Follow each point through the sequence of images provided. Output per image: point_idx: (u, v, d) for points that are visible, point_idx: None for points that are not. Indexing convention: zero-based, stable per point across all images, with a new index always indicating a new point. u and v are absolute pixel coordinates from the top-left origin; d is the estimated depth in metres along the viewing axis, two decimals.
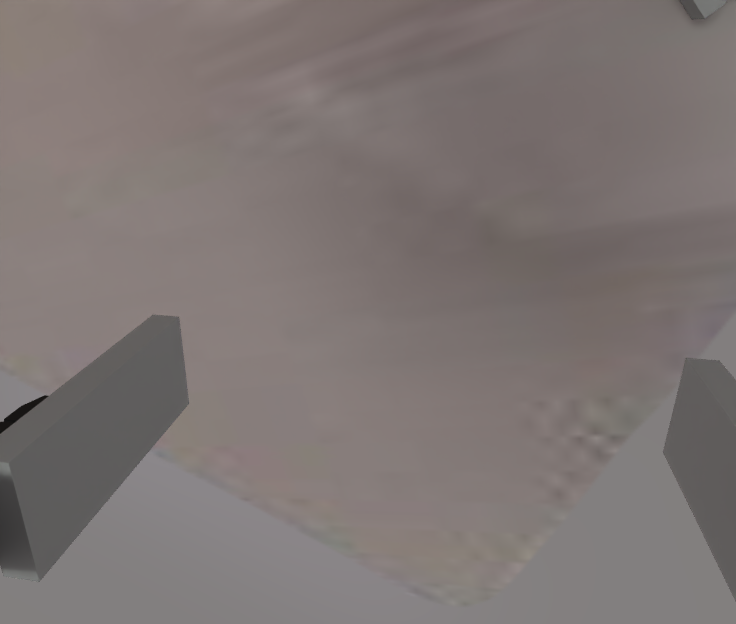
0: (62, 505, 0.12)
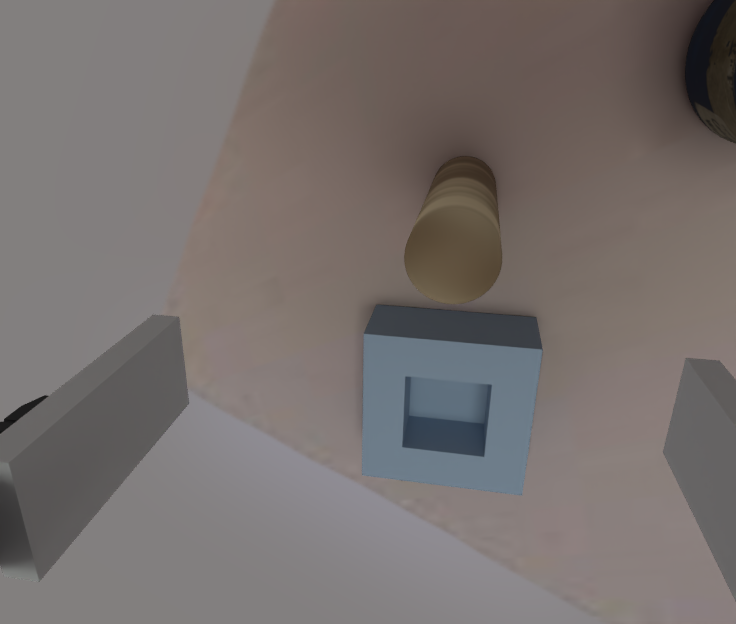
0: (62, 505, 0.12)
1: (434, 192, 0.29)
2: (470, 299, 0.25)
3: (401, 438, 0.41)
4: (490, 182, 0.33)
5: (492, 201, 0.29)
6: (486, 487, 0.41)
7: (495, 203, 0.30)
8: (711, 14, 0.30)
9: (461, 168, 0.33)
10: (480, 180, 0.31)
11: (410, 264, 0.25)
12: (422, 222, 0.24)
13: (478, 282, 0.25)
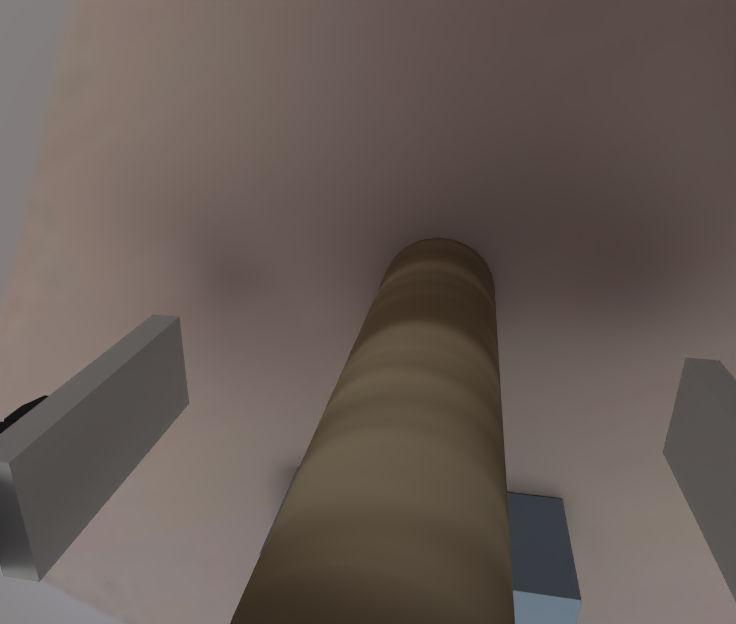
0: (62, 505, 0.12)
1: (355, 372, 0.13)
2: None
3: None
4: (484, 311, 0.17)
5: (488, 396, 0.13)
6: None
7: (494, 388, 0.13)
8: None
9: (426, 282, 0.17)
10: (462, 323, 0.15)
11: None
12: (268, 582, 0.08)
13: None
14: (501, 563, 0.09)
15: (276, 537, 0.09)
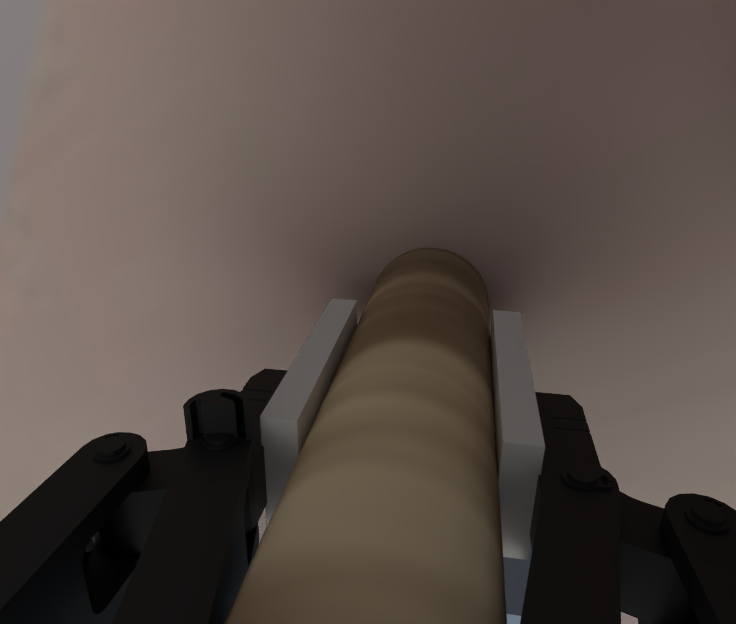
0: None
1: (339, 395, 0.12)
2: None
3: None
4: (477, 326, 0.16)
5: (481, 421, 0.12)
6: None
7: (488, 410, 0.13)
8: None
9: (416, 296, 0.16)
10: (454, 340, 0.14)
11: None
12: None
13: None
14: (495, 615, 0.08)
15: (248, 588, 0.08)
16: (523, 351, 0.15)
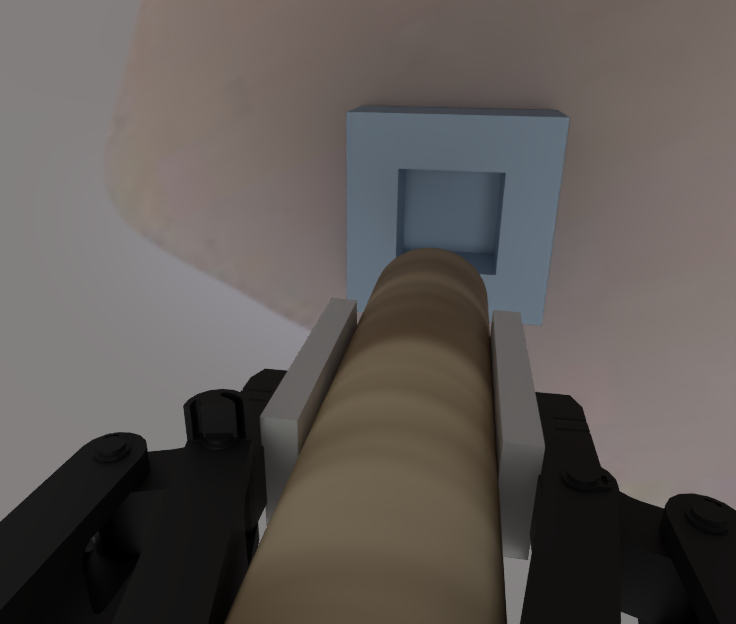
0: None
1: (340, 394, 0.12)
2: None
3: (394, 256, 0.33)
4: (476, 325, 0.16)
5: (481, 420, 0.12)
6: None
7: (488, 409, 0.13)
8: None
9: (416, 295, 0.16)
10: (454, 339, 0.14)
11: None
12: None
13: None
14: (495, 612, 0.08)
15: (249, 585, 0.08)
16: (523, 351, 0.15)
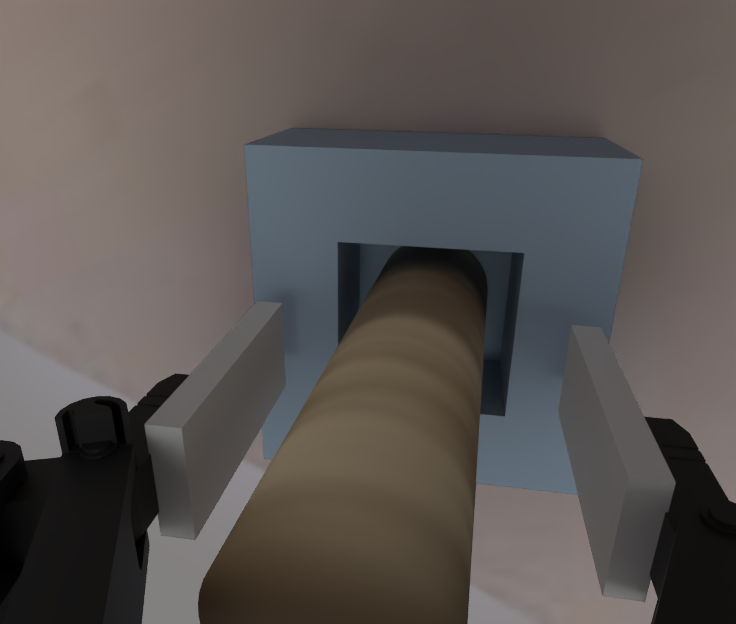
0: (210, 471, 0.13)
1: (337, 361, 0.14)
2: None
3: None
4: (470, 307, 0.17)
5: (463, 386, 0.13)
6: (508, 479, 0.20)
7: (472, 379, 0.14)
8: None
9: (415, 278, 0.17)
10: (445, 317, 0.15)
11: None
12: (234, 547, 0.08)
13: None
14: (456, 538, 0.09)
15: (247, 509, 0.09)
16: (618, 371, 0.14)
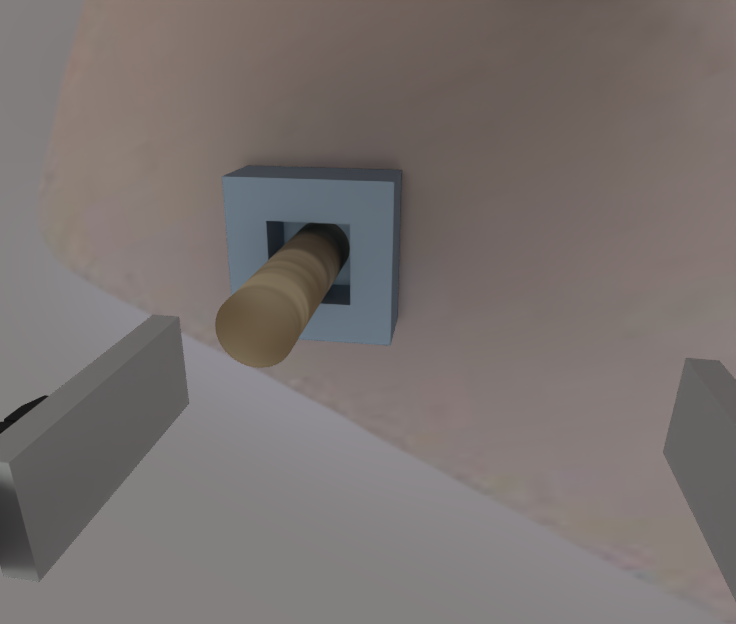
0: (62, 505, 0.12)
1: None
2: (273, 363, 0.30)
3: None
4: (328, 249, 0.38)
5: (312, 272, 0.34)
6: (355, 339, 0.41)
7: (319, 272, 0.35)
8: None
9: (303, 236, 0.38)
10: (312, 250, 0.36)
11: (221, 335, 0.30)
12: (226, 301, 0.29)
13: (278, 350, 0.30)
14: (295, 304, 0.30)
15: None
16: None
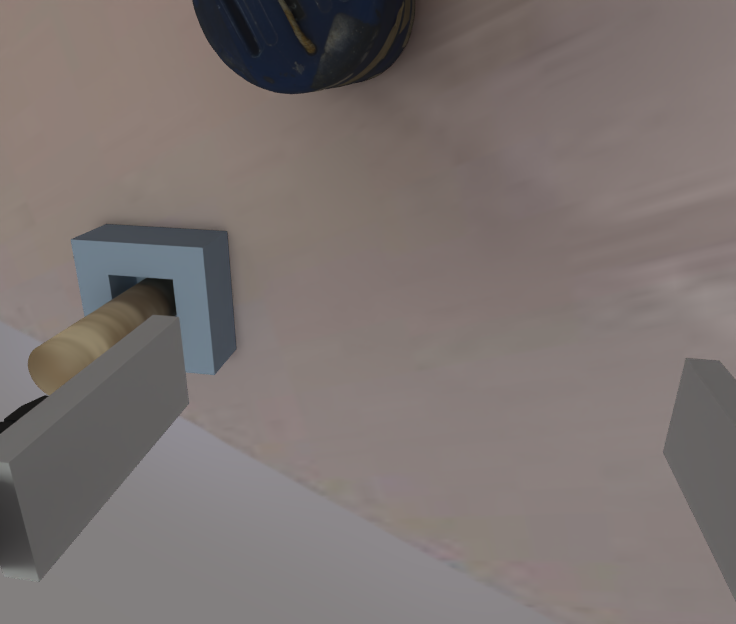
0: (62, 505, 0.12)
1: None
2: None
3: None
4: (154, 298, 0.47)
5: (124, 322, 0.43)
6: (187, 369, 0.50)
7: (133, 321, 0.44)
8: None
9: (135, 288, 0.47)
10: (133, 302, 0.45)
11: (33, 374, 0.39)
12: (34, 350, 0.38)
13: None
14: (91, 352, 0.39)
15: None
16: None
